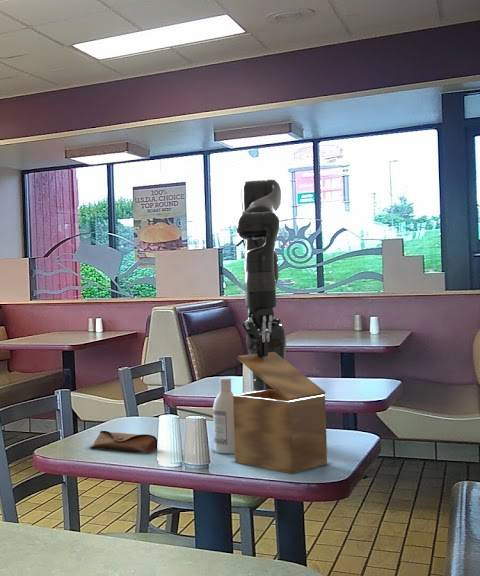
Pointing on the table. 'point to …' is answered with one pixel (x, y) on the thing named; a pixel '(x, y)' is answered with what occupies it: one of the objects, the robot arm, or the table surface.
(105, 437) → the sunglasses case
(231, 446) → the bath foam
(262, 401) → the chest
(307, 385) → the chest lid
